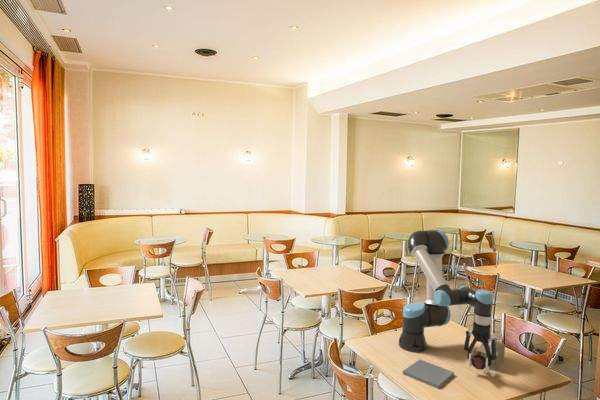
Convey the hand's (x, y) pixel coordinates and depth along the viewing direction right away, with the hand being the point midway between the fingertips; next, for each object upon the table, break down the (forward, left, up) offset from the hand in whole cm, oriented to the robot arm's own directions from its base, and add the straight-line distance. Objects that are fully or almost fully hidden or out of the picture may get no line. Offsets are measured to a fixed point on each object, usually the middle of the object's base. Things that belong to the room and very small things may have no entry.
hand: (478, 368), depth 192 cm
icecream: (0, +1, 0) cm, 1 cm away
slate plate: (-17, -16, -4) cm, 24 cm away
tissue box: (-1, +20, -4) cm, 20 cm away
